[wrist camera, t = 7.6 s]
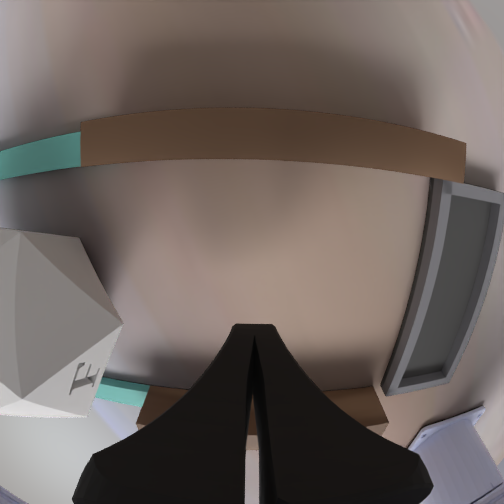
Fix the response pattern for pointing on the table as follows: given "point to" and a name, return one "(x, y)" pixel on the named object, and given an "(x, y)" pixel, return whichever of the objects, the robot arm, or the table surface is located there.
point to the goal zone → (53, 158)
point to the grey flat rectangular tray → (446, 285)
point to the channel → (271, 148)
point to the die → (51, 326)
